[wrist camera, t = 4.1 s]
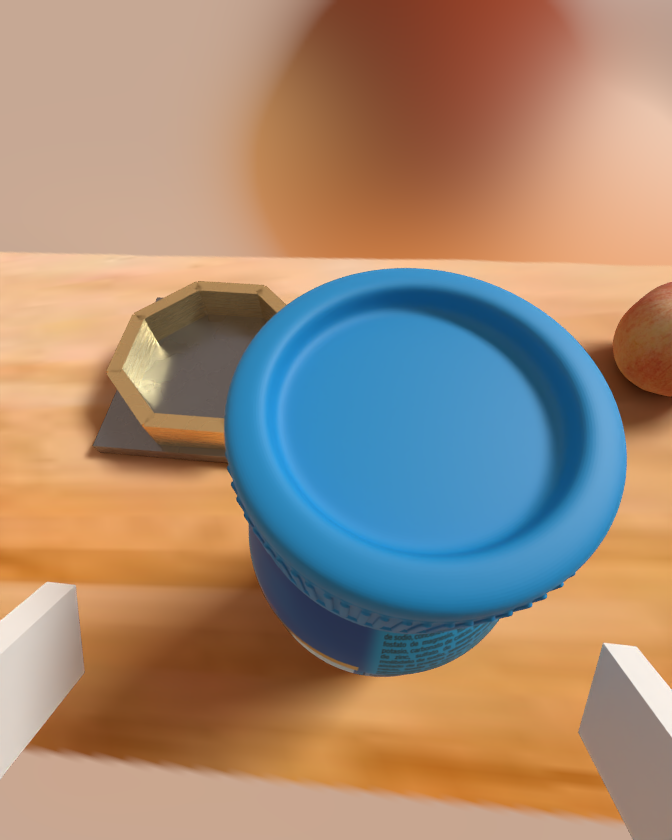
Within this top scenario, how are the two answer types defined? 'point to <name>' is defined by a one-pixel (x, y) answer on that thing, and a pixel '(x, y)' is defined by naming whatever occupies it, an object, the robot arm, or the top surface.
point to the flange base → (182, 370)
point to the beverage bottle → (417, 464)
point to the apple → (647, 342)
